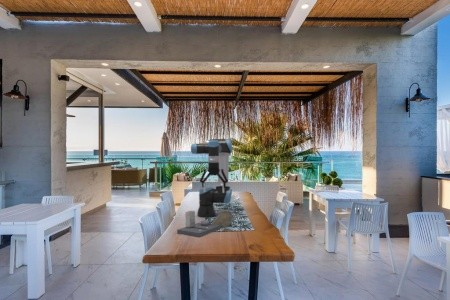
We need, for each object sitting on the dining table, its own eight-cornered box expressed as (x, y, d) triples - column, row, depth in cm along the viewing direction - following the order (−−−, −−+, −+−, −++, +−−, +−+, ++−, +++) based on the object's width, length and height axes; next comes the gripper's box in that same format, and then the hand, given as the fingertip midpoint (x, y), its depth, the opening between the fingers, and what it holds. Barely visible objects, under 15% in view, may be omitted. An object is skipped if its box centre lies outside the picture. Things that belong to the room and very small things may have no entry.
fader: (185, 227, 221) (185, 211, 221) (190, 225, 226) (190, 210, 226) (189, 227, 220) (189, 212, 219) (194, 225, 224) (194, 211, 224)
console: (177, 233, 216) (177, 225, 216) (199, 226, 236) (199, 219, 236) (199, 237, 206) (199, 229, 206) (220, 229, 227) (220, 221, 227)
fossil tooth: (212, 227, 238) (233, 224, 239) (212, 228, 231) (234, 226, 232) (211, 211, 238) (231, 208, 239) (211, 212, 232) (232, 210, 233)
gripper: (195, 162, 231) (195, 192, 231) (230, 162, 226) (230, 193, 226) (198, 162, 239) (198, 191, 238) (232, 161, 234) (232, 192, 233)
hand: (213, 192), depth 232 cm, fingers open, 13 cm apart
